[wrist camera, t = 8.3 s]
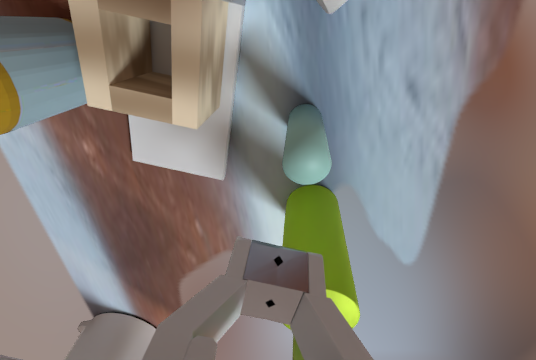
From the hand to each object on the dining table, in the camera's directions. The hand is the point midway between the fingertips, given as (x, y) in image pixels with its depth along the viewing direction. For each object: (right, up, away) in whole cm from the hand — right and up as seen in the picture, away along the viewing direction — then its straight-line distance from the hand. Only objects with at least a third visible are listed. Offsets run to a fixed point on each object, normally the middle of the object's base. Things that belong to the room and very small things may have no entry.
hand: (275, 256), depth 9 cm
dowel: (+3, +8, +16) cm, 18 cm away
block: (-8, +14, +12) cm, 20 cm away
